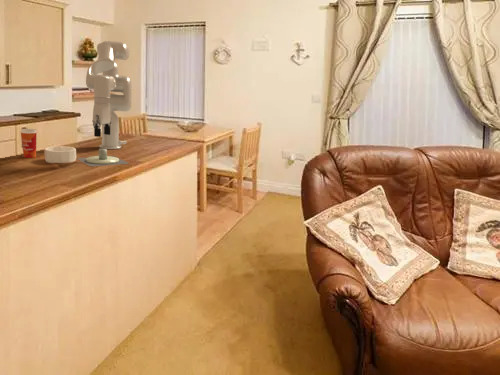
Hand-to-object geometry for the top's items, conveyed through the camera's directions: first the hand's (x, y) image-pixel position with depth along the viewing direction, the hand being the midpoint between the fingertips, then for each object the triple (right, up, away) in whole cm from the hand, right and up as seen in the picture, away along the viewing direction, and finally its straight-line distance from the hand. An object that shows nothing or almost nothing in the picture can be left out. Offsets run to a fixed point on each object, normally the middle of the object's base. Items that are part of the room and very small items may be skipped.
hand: (102, 135), depth 217 cm
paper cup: (-37, -11, +2) cm, 39 cm away
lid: (-1, -13, +4) cm, 13 cm away
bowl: (-21, -13, -1) cm, 24 cm away
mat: (-1, -13, +4) cm, 14 cm away
